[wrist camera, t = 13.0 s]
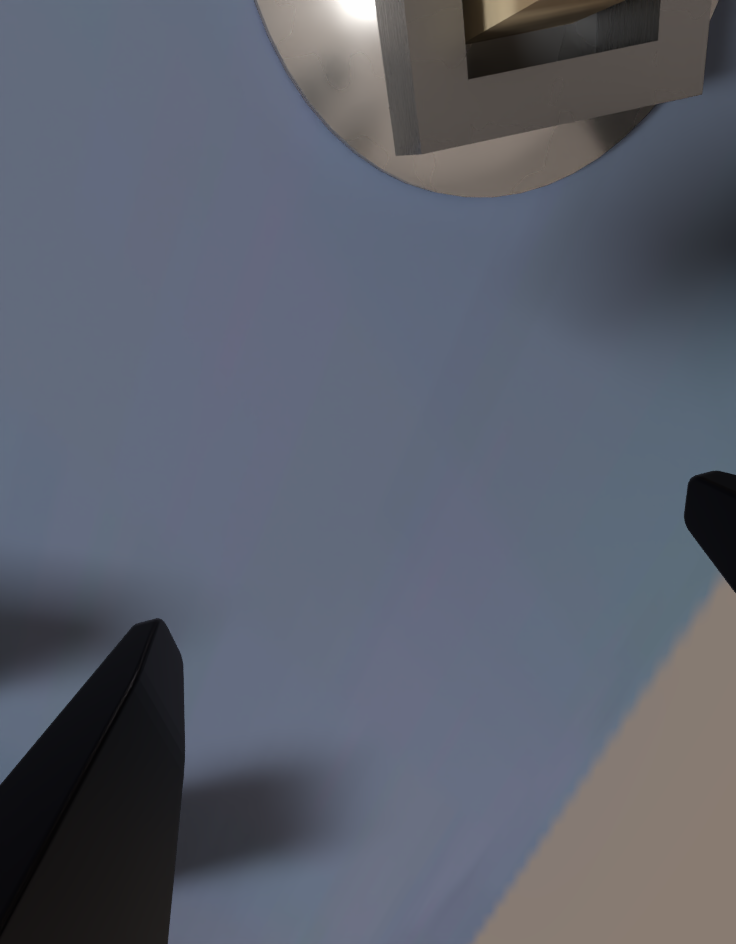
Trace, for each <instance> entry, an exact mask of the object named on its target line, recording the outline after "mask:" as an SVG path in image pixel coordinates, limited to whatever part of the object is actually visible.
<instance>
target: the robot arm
mask: <svg viewBox="0 0 736 944" xmlns="http://www.w3.org/2000/svg"><path fill="white" fill-rule="evenodd" d="M684 520H685V524H686V526H687V528H688V530H689V531H690V533H691V534H692V536H693V537H694V538H695V540H696V541H697V542H698V544H699V545H700V546H701V548H702V549H703V550H704V552H705V553H706V554H707V556H708V557H709V558H710V560H711V561H712V562H713V564H714V565H715V566H716V568H717V569H718V570H719V572H720V573H721V574H722V576H723V577H724V578H725V580H726V581H727V582H728V584H729V585H730V586H731V588H732V589H733V590H734V592H735V593H736V475H734V474H729V473H725V472H721V471H710V472H707V473H703V474H699V475H695V476H694V477H692V478H691V479H690V481H689V482H688V488H687V496H686V503H685V511H684ZM184 763H185V722H184V674H183V661H182V657H181V654H180V651H179V649H178V647H177V645H176V643H175V641H174V639H173V637H172V635H171V633H170V631H169V629H168V627H167V625H166V624H165V622H164V621H163V620H162V619H159V618H156V619H152V620H148V621H145V622H141V623H138V624H135V625H134V626H133V627H132V628H131V629H130V630H129V631H128V632H127V634H126V635H125V636H124V637H123V638H122V640H121V641H120V642H119V643H118V644H117V646H116V647H115V648H114V649H113V650H112V652H111V653H110V654H109V655H108V656H107V658H106V659H105V660H104V661H103V662H102V664H101V665H100V666H99V667H98V668H97V670H96V671H95V672H94V673H93V674H92V676H91V677H90V678H89V679H88V680H87V682H86V683H85V684H84V685H83V686H82V688H81V689H80V690H79V691H78V692H77V694H76V695H75V696H74V697H73V698H72V700H71V701H70V702H69V703H68V704H67V706H66V707H65V708H64V709H63V710H62V712H61V713H60V714H59V715H58V716H57V718H56V719H55V720H54V721H53V722H52V723H51V725H50V726H49V727H48V728H47V729H46V731H45V732H44V733H43V734H42V735H41V737H40V738H39V739H38V740H37V741H36V743H35V744H34V745H33V746H32V747H31V749H30V750H29V751H28V752H27V753H26V755H25V756H24V757H23V758H22V759H21V761H20V762H19V763H18V764H17V765H16V767H15V768H14V769H13V770H12V771H11V773H10V774H9V775H8V776H7V777H6V779H5V780H4V781H3V782H2V783H1V785H0V944H168V935H169V924H170V914H171V903H172V893H173V882H174V872H175V861H176V851H177V840H178V830H179V819H180V809H181V798H182V788H183V777H184Z"/></svg>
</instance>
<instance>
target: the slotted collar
mask: <svg viewBox="0 0 736 944" xmlns="http://www.w3.org/2000/svg"><path fill="white" fill-rule="evenodd" d="M718 1H719V0H625V1H622V2H620V3H618V4H615V5H613V6H611V7H609V8H606V9H604V10H602V11H599V12H597V13H595V14H593V15H590V16H588V17H586V18H583V19H581V20H579V21H577V22H574V23H572V24H567V25H562V26H557V27H552V28H547V29H542V30H537V31H532V32H527V33H522V34H517V35H512V36H507V37H502V38H497V39H492V40H487V41H482V42H477V43H472V44H467V45H465V32H464V19H463V6H462V0H254V2H255V5H256V7H257V10H258V13H259V15H260V18H261V20H262V23H263V26H264V28H265V31H266V33H267V36H268V38H269V40H270V42H271V44H272V46H273V48H274V50H275V52H276V54H277V56H278V58H279V60H280V62H281V64H282V66H283V67H284V69H285V71H286V73H287V75H288V76H289V78H290V79H291V81H292V82H293V84H294V85H295V87H296V88H297V90H298V91H299V93H300V94H301V96H302V97H303V99H304V100H305V102H306V103H307V105H308V106H309V107H310V108H311V110H312V111H313V112H314V113H315V114H316V115H317V117H318V118H319V119H320V120H321V121H322V123H323V124H324V125H325V126H326V127H327V128H328V130H329V131H330V132H331V133H332V134H334V135H335V136H336V137H337V138H338V139H339V140H340V141H341V142H342V143H343V144H345V145H346V146H347V147H348V148H349V149H350V150H351V151H352V152H353V153H355V154H356V155H358V156H359V157H360V158H362V159H363V160H365V161H366V162H368V163H369V164H371V165H372V166H373V167H375V168H376V169H378V170H379V171H381V172H383V173H385V174H387V175H389V176H391V177H393V178H395V179H397V180H399V181H401V182H403V183H406V184H409V185H412V186H415V187H418V188H421V189H424V190H428V191H431V192H437V193H443V194H449V195H455V196H462V197H498V196H505V195H512V194H518V193H523V192H526V191H529V190H533V189H536V188H540V187H543V186H546V185H549V184H551V183H553V182H555V181H558V180H560V179H562V178H564V177H566V176H569V175H571V174H573V173H575V172H576V171H578V170H580V169H581V168H583V167H585V166H586V165H588V164H589V163H591V162H593V161H594V160H596V159H597V158H599V157H600V156H602V155H603V154H604V153H605V152H607V151H608V150H609V149H610V148H612V147H613V146H614V145H615V144H617V143H618V142H619V141H620V140H622V139H623V138H624V137H625V136H626V135H627V134H628V133H629V132H630V131H631V130H632V129H633V128H634V127H635V126H636V125H637V124H638V123H639V122H640V121H641V120H642V119H643V118H644V117H645V116H646V115H647V114H648V113H649V112H650V111H651V109H652V108H653V107H654V106H655V105H656V104H660V103H664V102H669V101H674V100H678V99H683V98H688V97H692V96H697V95H702V90H703V81H704V71H705V61H706V51H707V41H708V31H709V21H710V19H711V17H712V15H713V12H714V10H715V8H716V5H717V3H718Z"/></svg>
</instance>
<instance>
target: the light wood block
mask: <svg viewBox="0 0 736 944" xmlns="http://www.w3.org/2000/svg"><path fill="white" fill-rule="evenodd" d="M622 1H625V0H462V6H463V19H464V32H465V45H467V44H472V43H477V42H482V41H487V40H492V39H497V38H502V37H507V36H512V35H517V34H522V33H527V32H532V31H537V30H542V29H547V28H552V27H557V26H562V25H567V24H572V23H574V22H577V21H579V20H581V19H583V18H586V17H588V16H590V15H593V14H595V13H597V12H599V11H602V10H604V9H606V8H609V7H611V6H613V5H615V4H618V3H620V2H622Z"/></svg>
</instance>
